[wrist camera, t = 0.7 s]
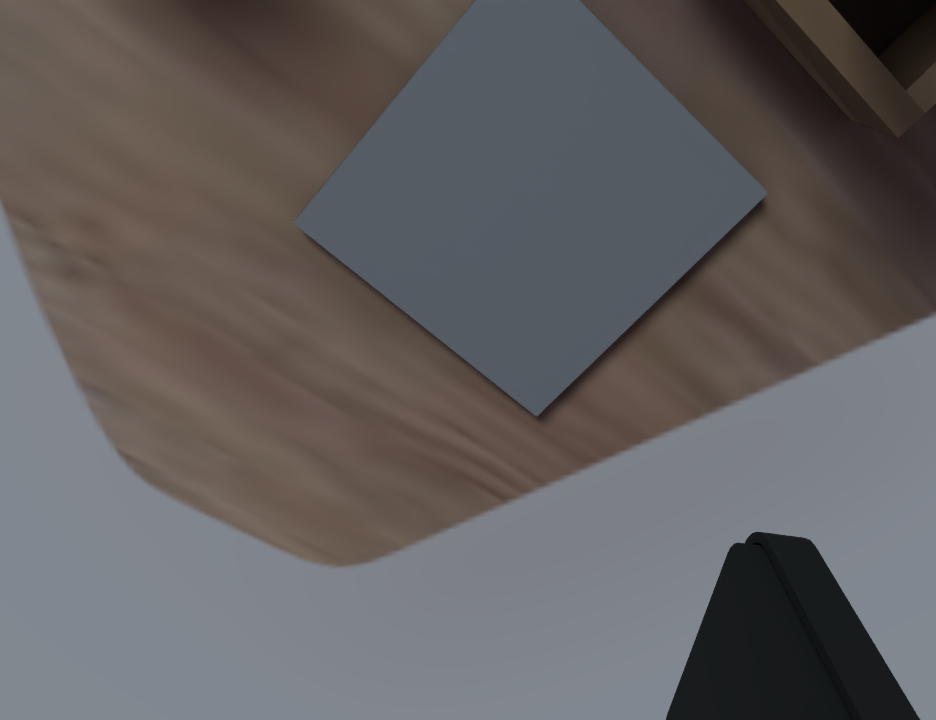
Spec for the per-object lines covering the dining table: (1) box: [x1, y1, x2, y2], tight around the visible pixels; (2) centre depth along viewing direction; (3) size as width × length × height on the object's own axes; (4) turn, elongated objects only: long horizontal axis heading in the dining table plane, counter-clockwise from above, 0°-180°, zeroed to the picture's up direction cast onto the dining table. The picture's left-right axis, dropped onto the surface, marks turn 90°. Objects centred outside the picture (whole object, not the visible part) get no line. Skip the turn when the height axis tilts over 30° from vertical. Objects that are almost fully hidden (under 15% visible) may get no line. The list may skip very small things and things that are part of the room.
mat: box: [293, 0, 768, 417], centre depth 35 cm, size 14×14×1 cm
